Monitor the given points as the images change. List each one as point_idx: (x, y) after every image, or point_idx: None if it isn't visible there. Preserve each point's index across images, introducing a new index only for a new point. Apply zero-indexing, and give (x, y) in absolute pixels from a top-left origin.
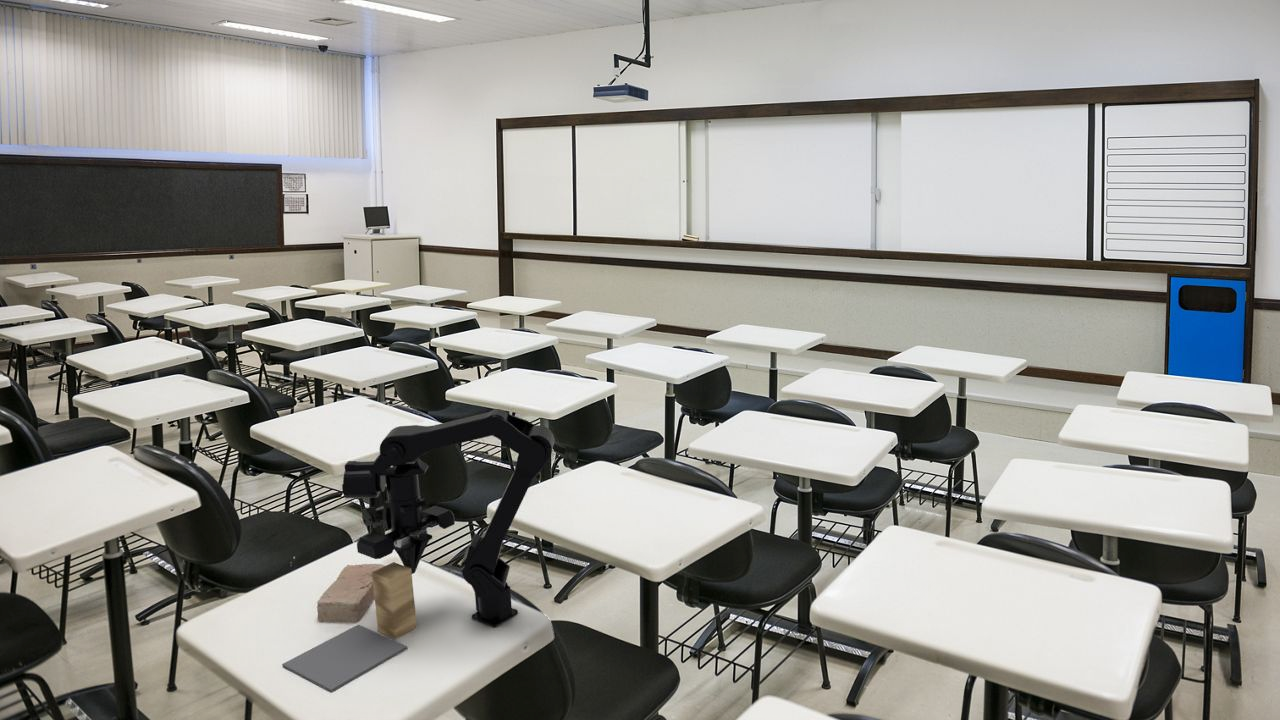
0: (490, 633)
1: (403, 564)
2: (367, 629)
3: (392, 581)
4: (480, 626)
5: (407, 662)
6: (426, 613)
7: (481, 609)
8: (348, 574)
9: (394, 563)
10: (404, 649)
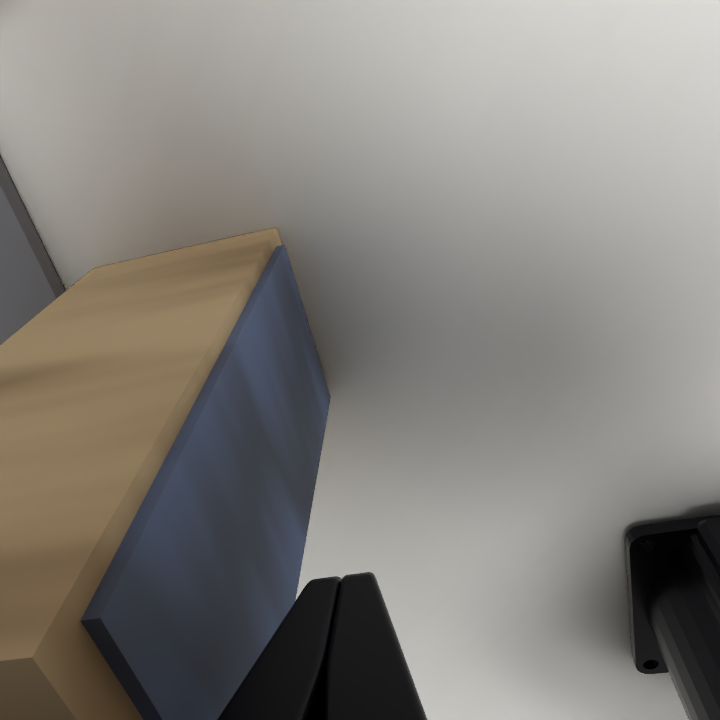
0: (581, 674)
1: (221, 715)
2: (13, 228)
3: None
4: (596, 607)
5: None
6: (474, 282)
7: (669, 651)
8: None
9: (35, 710)
10: None
